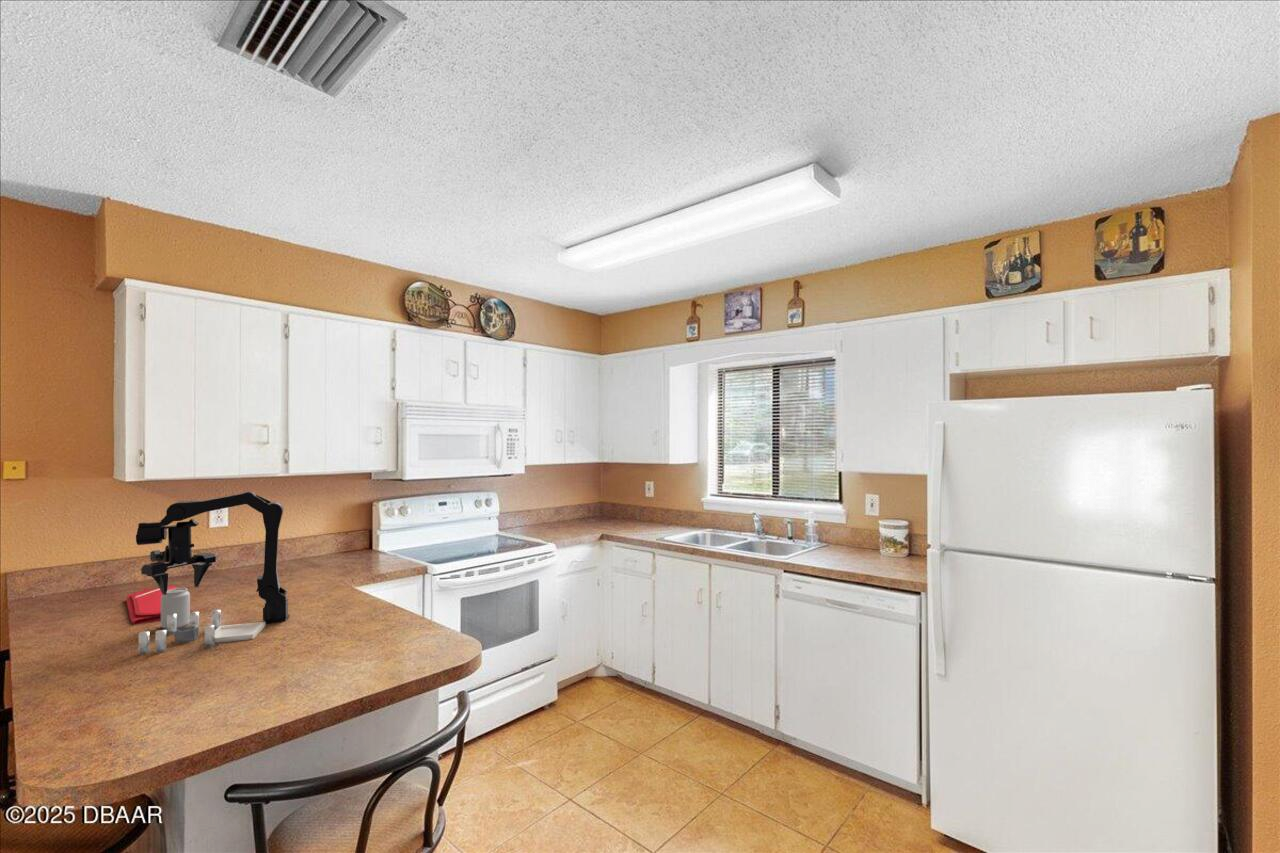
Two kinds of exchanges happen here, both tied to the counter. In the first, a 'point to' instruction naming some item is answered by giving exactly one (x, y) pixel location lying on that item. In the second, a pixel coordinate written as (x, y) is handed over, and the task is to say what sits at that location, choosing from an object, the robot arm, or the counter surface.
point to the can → (176, 606)
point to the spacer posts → (172, 627)
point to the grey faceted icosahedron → (186, 634)
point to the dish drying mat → (145, 605)
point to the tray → (237, 632)
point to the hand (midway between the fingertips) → (180, 590)
